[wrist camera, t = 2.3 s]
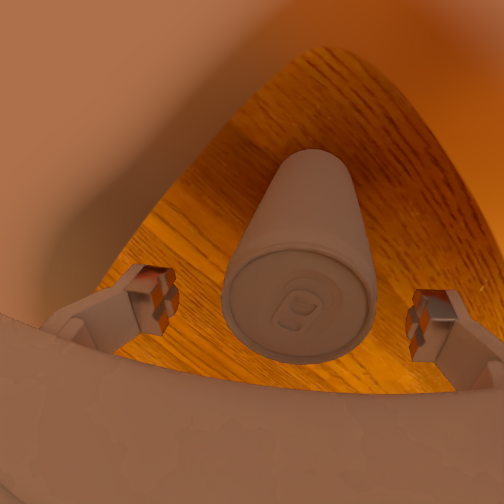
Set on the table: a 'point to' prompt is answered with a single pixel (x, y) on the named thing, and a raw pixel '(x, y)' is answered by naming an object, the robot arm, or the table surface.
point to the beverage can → (303, 266)
